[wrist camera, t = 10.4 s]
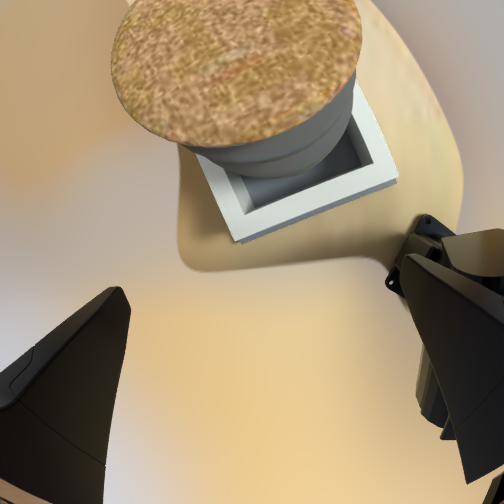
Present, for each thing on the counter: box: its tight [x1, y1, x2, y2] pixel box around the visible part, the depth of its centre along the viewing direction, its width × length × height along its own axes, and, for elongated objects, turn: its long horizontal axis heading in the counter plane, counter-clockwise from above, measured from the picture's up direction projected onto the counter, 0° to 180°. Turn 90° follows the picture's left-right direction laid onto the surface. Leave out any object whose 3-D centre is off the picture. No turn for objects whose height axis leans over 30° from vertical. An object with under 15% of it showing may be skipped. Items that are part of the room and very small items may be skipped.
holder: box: [195, 79, 399, 244], centre depth 16 cm, size 12×12×4 cm
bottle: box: [111, 0, 362, 178], centre depth 11 cm, size 6×6×15 cm
